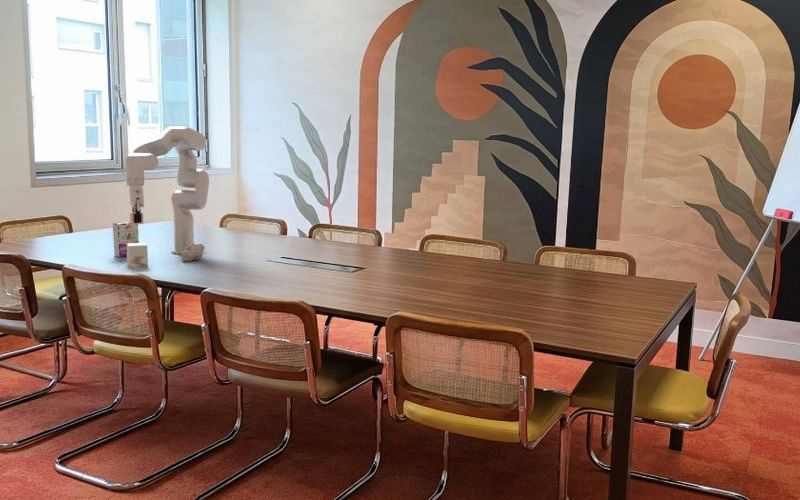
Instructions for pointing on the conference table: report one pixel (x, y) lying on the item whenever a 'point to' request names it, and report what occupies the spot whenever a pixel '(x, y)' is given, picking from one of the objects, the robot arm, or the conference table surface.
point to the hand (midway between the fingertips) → (136, 221)
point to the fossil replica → (192, 252)
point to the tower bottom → (137, 261)
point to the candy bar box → (124, 237)
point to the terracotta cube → (133, 218)
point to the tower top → (137, 249)
